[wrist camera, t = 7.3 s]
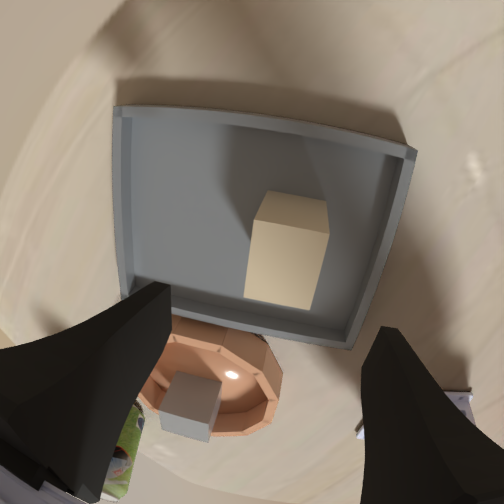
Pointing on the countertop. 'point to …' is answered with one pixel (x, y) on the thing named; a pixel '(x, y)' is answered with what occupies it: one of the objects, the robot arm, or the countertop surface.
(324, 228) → the cream wooden cube
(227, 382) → the bowl
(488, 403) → the countertop surface
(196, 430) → the grey sharp-edged cube
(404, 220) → the countertop surface
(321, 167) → the tray
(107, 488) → the beverage can
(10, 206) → the countertop surface
